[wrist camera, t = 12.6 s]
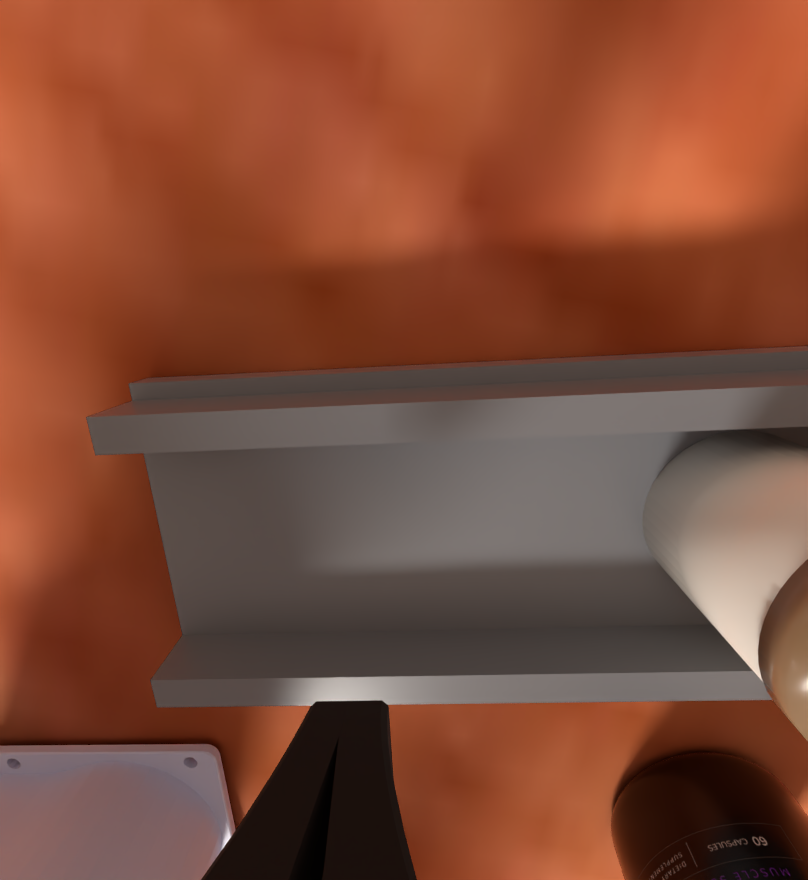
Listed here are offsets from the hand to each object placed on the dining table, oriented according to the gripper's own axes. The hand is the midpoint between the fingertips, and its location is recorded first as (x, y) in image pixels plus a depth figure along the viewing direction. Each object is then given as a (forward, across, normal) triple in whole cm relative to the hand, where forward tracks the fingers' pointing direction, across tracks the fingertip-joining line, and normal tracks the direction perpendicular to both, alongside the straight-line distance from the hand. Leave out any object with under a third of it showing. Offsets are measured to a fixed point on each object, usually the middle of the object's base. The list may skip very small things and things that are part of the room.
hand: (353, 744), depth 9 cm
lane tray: (+7, -5, -1) cm, 9 cm away
